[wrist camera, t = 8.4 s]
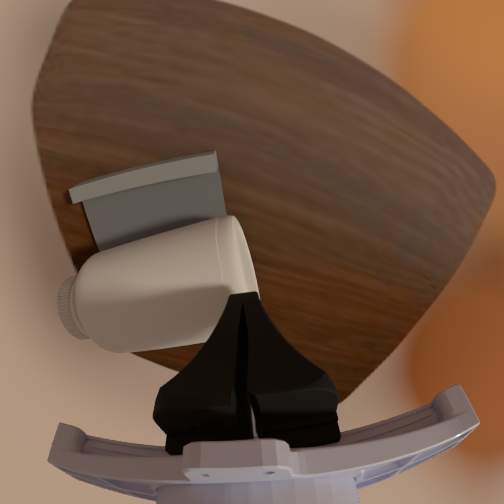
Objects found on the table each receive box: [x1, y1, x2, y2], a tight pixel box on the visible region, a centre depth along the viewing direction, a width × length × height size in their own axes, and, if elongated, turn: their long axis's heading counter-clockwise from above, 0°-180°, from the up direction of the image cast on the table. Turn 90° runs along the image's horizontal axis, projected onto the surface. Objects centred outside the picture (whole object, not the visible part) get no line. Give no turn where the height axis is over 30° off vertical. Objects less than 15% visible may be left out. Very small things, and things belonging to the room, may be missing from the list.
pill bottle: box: [58, 216, 260, 353], centre depth 19 cm, size 8×8×15 cm
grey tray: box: [69, 150, 227, 252], centre depth 21 cm, size 13×12×2 cm
